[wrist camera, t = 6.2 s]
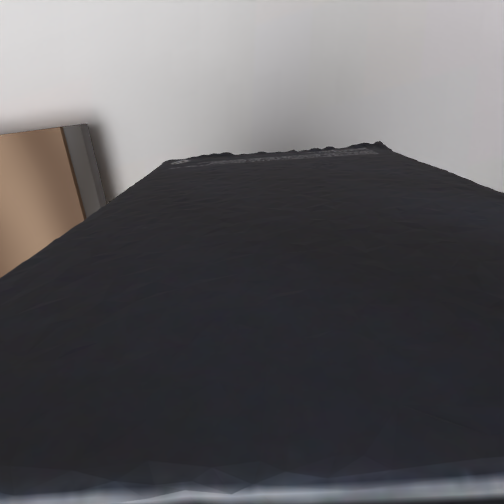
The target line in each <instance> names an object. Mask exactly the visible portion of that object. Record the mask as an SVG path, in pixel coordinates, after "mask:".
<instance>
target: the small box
mask: <svg viewBox="0 0 504 504" xmlns="http://www.w3.org/2000/svg"><path fill="white" fill-rule="evenodd" d="M0 504H504V193H501V192H498V191H495V190H493V189H491V188H488V187H485V186H482V185H479V184H477V183H475V182H473V181H471V180H468V179H465V178H462V177H460V176H457V175H455V174H453V173H449V172H448V171H446V170H443V169H439V168H437V167H434V166H431V165H428V164H425V163H422V162H418V161H417V160H414V159H411V158H408V157H405V156H403V155H401V154H398V153H395V152H393V151H392V150H391V149H389V148H388V147H387V146H386V145H384V144H383V143H382V142H381V141H378V142H375V143H374V144H369V143H361V144H357V145H351V146H349V147H346V148H340V149H337V148H334V147H326V148H324V149H319V148H313V149H310V150H303V151H299V152H297V151H295V150H292V151H288V152H275V153H266V152H258V153H254V154H240V155H233V154H231V153H227V152H226V153H221V154H210V155H201V156H198V157H191V158H187V159H178V160H168V161H165V162H163V163H162V165H160V166H159V167H158V168H156V169H155V170H153V171H152V172H151V173H150V174H148V175H147V176H145V177H144V178H143V179H141V180H140V181H138V182H137V183H135V184H134V185H133V186H132V187H129V188H128V189H127V190H126V191H124V192H123V193H121V194H120V195H119V196H117V197H116V198H115V199H113V200H112V201H111V202H109V203H108V204H107V205H105V206H103V207H101V208H100V209H99V210H98V211H96V212H94V213H93V214H91V215H90V216H89V217H88V218H86V219H85V220H84V221H83V222H81V223H79V224H78V225H76V226H74V227H73V228H71V229H70V230H69V231H67V232H66V233H65V234H63V235H62V236H61V237H59V238H57V239H55V240H54V241H52V242H51V243H50V244H49V245H47V246H46V247H45V248H43V249H42V250H41V251H39V252H38V253H36V254H35V255H33V256H32V257H31V258H29V259H28V260H26V261H24V262H22V263H21V264H19V265H18V266H17V267H15V268H14V269H12V270H11V271H10V272H8V273H7V274H5V275H4V276H2V277H1V278H0Z"/></svg>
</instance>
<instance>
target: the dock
mask: <svg viewBox="0 0 504 504" xmlns="http://www.w3.org/2000/svg"><path fill="white" fill-rule="evenodd" d="M105 205H107V203H106V199H105V195H104V191H103V187H102V183H101V178H100V174H99V170H98V166H97V162H96V158H95V153H94V149H93V145H92V141H91V137H90V133H89V129H88V124H81V125H73V126H65V127H57V128H49V129H42V130H34V131H26V132H19V133H11V134H3V135H0V278H1V277H2V276H4V275H5V274H7V273H8V272H10V271H11V270H12V269H14V268H15V267H17V266H18V265H19V264H21V263H22V262H24V261H26V260H28V259H29V258H31V257H32V256H33V255H35V254H36V253H38V252H39V251H41V250H42V249H43V248H45V247H46V246H47V245H49V244H50V243H51V242H52V241H54V240H55V239H57V238H59V237H61V236H62V235H63V234H65V233H66V232H67V231H69V230H70V229H71V228H73V227H74V226H76V225H78V224H79V223H81V222H83V221H84V220H85V219H86V218H88V217H89V216H90V215H91V214H93V213H94V212H96V211H98V210H99V209H100V208H101V207H103V206H105Z"/></svg>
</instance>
